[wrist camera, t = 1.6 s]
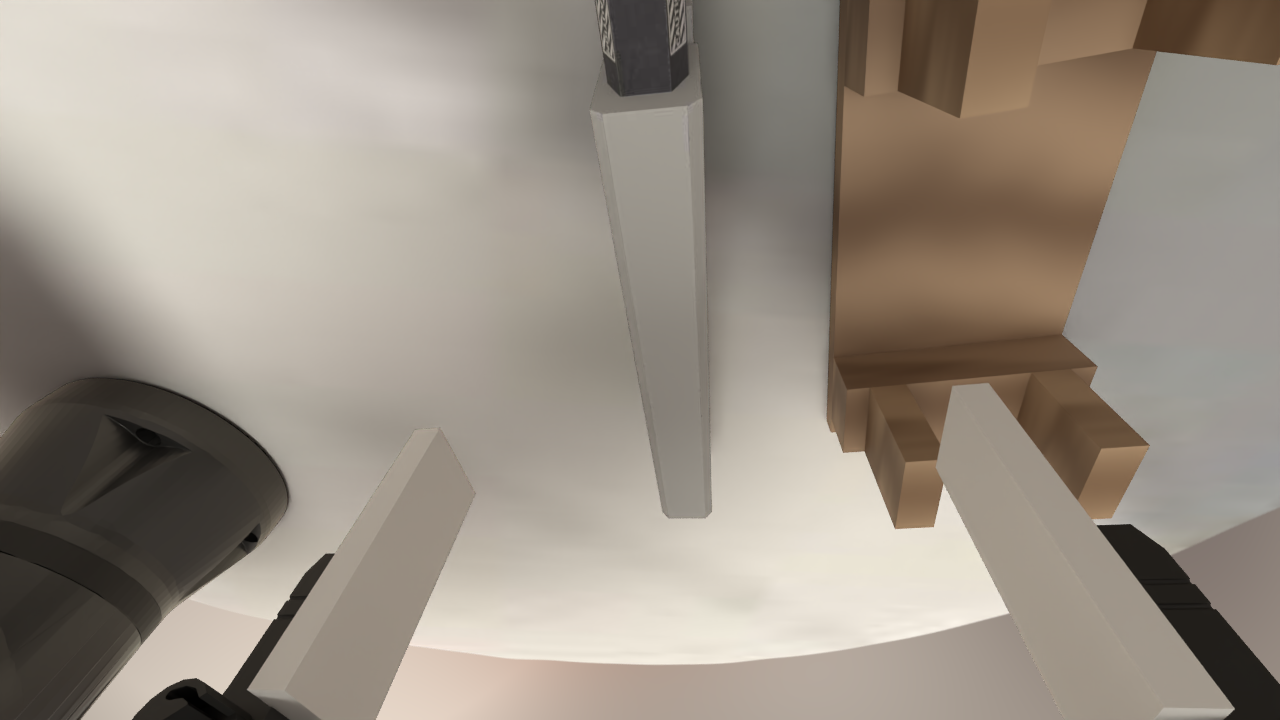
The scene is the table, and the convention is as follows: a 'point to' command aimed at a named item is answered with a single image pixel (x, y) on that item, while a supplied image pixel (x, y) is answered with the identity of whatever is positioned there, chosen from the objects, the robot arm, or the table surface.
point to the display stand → (989, 218)
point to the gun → (660, 228)
